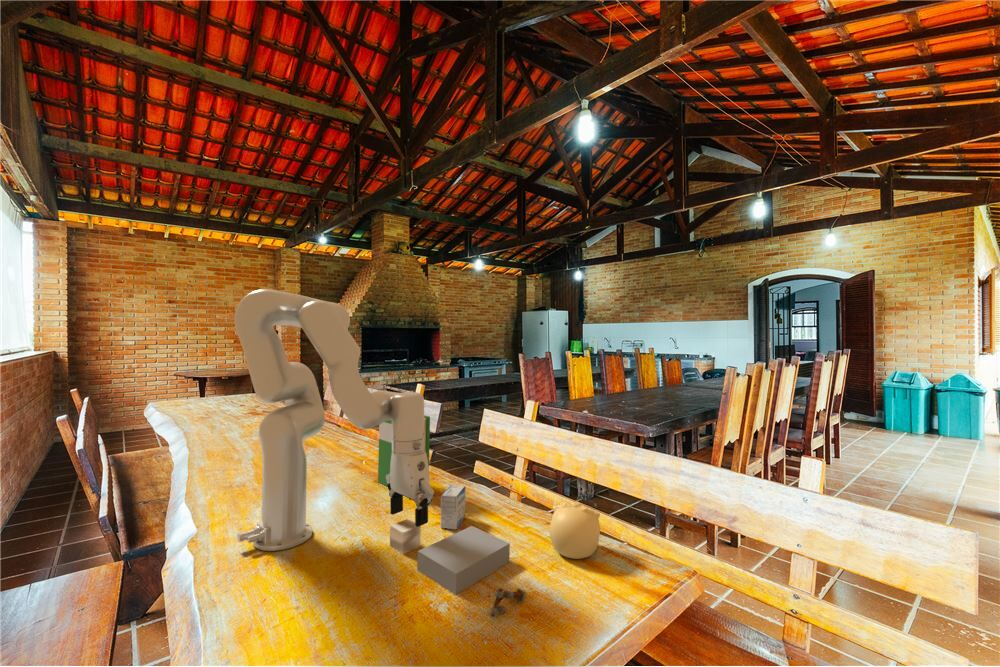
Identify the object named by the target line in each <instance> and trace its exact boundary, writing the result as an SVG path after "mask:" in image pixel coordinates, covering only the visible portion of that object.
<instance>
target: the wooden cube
mask: <svg viewBox="0 0 1000 667" xmlns="http://www.w3.org/2000/svg"><path fill="white" fill-rule="evenodd" d="M421 527H422V525H421V526H419V527H417V526H415V521H414V520H412V519H410V518H406V519H404V520H401V521H398V522H396V523H393V524H391V525H389V528H390V530H389V537H390V538H389V546H391V547H392V548H391V547H390V548H391V549H393V548H394V549H393V550H394V551H396V550H397V551H396V552H398V553H399V552H400V554H401V555H404V554H407V553H408V552H410V551H412V550H415V549H417V548H419V547H421V531H422V530H421V529H422V528H421Z"/></svg>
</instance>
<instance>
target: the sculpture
mask: <svg viewBox="0 0 1000 667" xmlns="http://www.w3.org/2000/svg"><path fill="white" fill-rule="evenodd" d="M552 510H553V514H552V516H551V520H550V524H549V538H550V542H551V545H552V546H553V548H554V550H555V551H556V552H557V553H558V554H560V555H562V556H564V557H566V558H569V559H577V560H579V559H584V558H588V557H590V556H591V555H593V554H594V553H595V552H596V550H597V548H598V546H599V542H600V536H601V526H600V525H601V524H600V519H599V518H600V515H601V513H600V512H598V511H597V510H595V509H593V508H589V507H587V506H585V505H584V504H583V503H582V502H578V501H572V502H570V503H566V504H565V503H561V504H556V505H553V507H552Z"/></svg>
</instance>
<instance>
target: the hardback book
mask: <svg viewBox="0 0 1000 667" xmlns="http://www.w3.org/2000/svg"><path fill="white" fill-rule="evenodd" d="M378 426H379V427H378V469H377V471H378V472H377V475H378V476H377V484H378V483H380V484H382V485H384V486H386V487H387V485H388V484H387V480H386V475H388V474H390V464H391V455H392V420H389V421H386V422H383V423H381V424H379V425H378ZM430 433H431V416H429V415H425V414H424V449H425V450H424V452H426V454H427V459H428V466H429V467H430V438H431V436H430V435H431V434H430ZM417 494H420V492H418V493H417ZM403 496H404V495H403ZM405 497H406V496H405ZM405 497H404V498H405ZM407 498H409V497H407ZM407 498H406V499H407Z"/></svg>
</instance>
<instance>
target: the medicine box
mask: <svg viewBox="0 0 1000 667" xmlns="http://www.w3.org/2000/svg"><path fill="white" fill-rule="evenodd" d="M466 494H467V493H466V486H465V485H458V484H456V485H455V484H451V485H450V486H449V487H448V488H447V489H446V490H445V491H444V493H442V495H441V496H440V528H441V529H445V528H447V530H454V529H459V526H460V525H461V524H462V522H463V520H464V519H465V518H466Z"/></svg>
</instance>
